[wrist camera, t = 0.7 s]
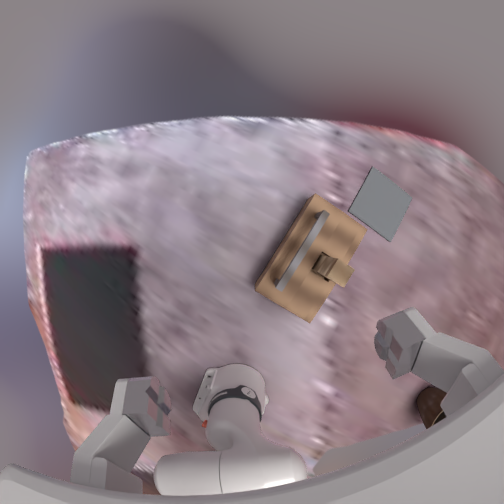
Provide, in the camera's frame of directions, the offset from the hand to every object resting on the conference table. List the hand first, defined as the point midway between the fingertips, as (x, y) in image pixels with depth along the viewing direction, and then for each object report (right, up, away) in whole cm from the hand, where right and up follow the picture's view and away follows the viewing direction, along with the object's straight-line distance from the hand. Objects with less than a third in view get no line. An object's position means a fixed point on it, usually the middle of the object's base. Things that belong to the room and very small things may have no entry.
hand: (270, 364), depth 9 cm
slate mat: (+32, +16, +55) cm, 66 cm away
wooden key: (+15, +1, +52) cm, 54 cm away
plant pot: (+57, -44, +58) cm, 92 cm away
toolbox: (+12, +3, +56) cm, 57 cm away
